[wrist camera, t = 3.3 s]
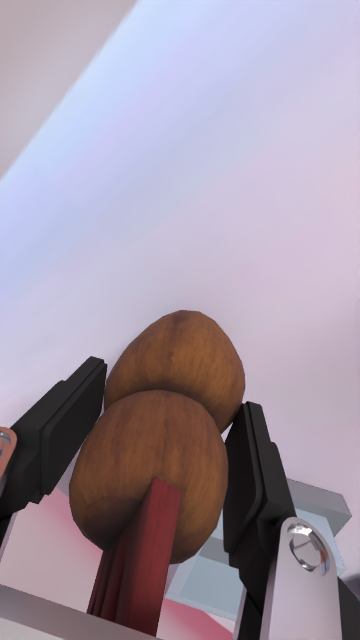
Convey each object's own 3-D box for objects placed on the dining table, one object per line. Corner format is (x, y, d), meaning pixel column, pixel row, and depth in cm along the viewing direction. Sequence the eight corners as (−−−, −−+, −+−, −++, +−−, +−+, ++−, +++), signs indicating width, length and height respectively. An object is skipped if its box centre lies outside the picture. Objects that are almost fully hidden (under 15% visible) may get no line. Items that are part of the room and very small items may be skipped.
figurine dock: (342, 495, 19) (377, 569, 15) (280, 574, 24) (293, 647, 20) (187, 448, 20) (179, 506, 16) (157, 535, 25) (145, 597, 20)
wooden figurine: (196, 279, 15) (-159, 1161, 1) (251, 345, 16) (536, 1242, 2) (123, 339, 17) (-305, 841, 3) (176, 393, 18) (41, 955, 4)
